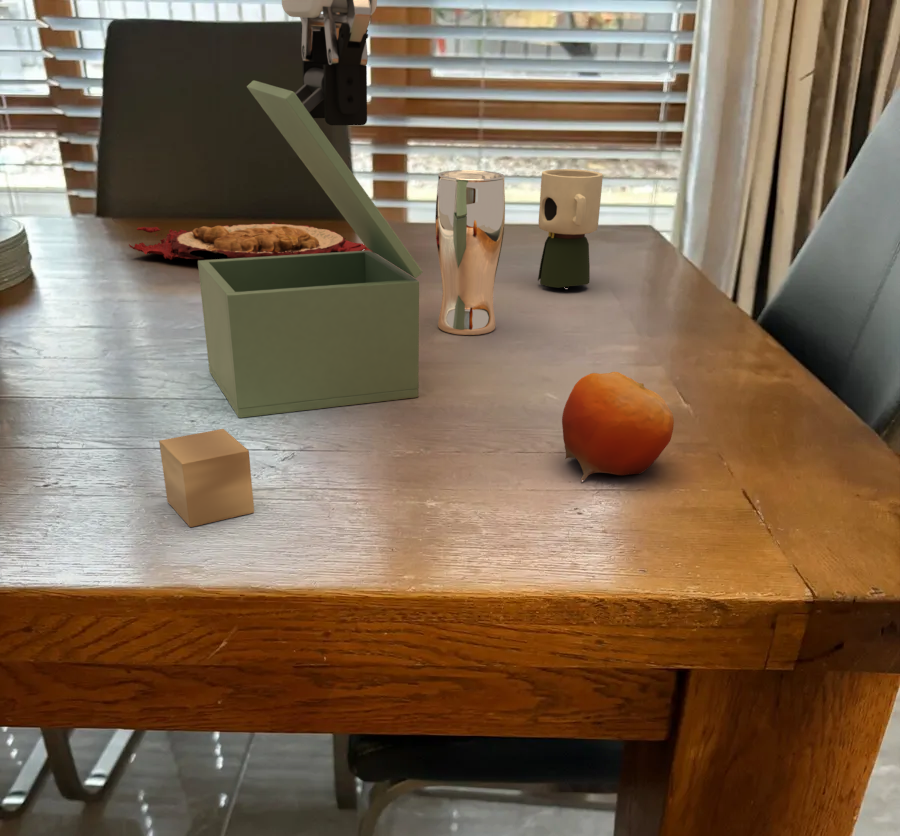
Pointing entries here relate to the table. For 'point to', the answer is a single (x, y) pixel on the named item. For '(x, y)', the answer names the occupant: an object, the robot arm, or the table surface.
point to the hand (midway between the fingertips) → (334, 118)
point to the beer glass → (469, 247)
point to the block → (207, 477)
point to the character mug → (568, 224)
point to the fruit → (615, 425)
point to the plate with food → (249, 241)
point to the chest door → (330, 165)
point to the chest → (310, 331)
